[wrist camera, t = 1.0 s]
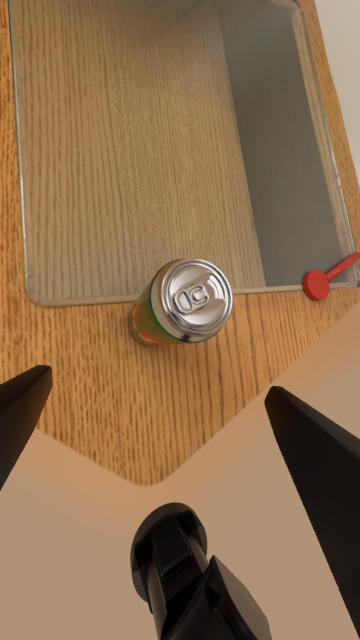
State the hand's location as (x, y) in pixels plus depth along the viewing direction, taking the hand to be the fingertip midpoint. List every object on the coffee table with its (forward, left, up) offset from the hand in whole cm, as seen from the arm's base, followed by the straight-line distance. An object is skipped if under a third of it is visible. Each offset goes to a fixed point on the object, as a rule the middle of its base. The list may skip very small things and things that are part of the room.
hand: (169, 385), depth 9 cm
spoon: (+3, -33, -14) cm, 36 cm away
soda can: (+3, -3, -14) cm, 15 cm away
